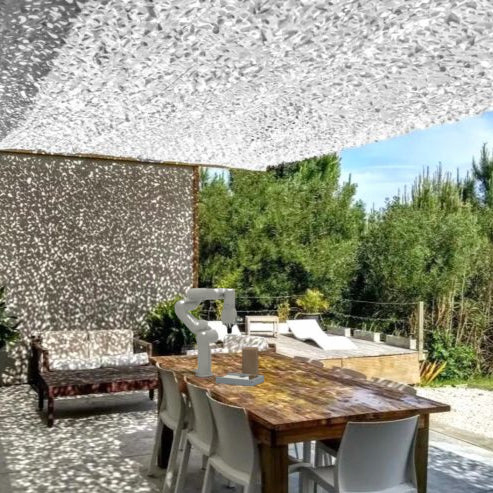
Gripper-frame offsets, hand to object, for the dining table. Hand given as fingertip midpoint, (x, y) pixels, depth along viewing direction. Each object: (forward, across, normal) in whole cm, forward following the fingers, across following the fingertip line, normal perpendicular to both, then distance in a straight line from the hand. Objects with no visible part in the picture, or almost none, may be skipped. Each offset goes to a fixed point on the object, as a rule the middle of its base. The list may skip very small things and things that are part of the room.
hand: (229, 333), depth 433 cm
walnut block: (+29, +21, -6) cm, 36 cm away
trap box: (+31, +12, -7) cm, 34 cm away
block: (+31, +8, +16) cm, 36 cm away
